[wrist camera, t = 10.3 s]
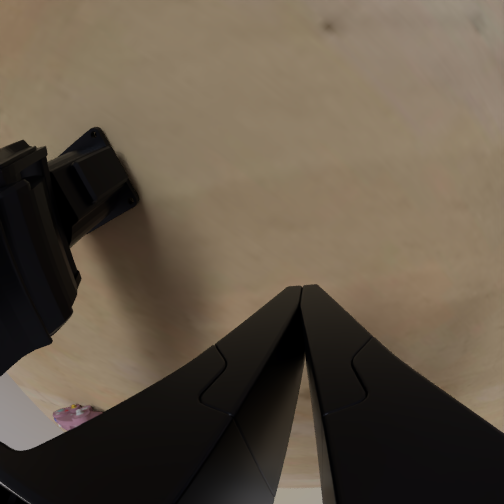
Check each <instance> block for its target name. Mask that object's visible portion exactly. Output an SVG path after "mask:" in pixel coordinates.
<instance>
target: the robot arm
mask: <svg viewBox="0 0 504 504" xmlns="http://www.w3.org/2000/svg"><path fill="white" fill-rule="evenodd" d="M94 132H96V137H95V136H94ZM47 155H48V154H47V148H46V146H44V147H40V148H36V146H34V147H31V146H29V145H28V144H27V143H26V142H25V141H24V140H21V141H18V142H15V143H13V144H10V145H8V146H5V147H3V148H1V149H0V376H2V375H3V374H4V373H5V372H6V371H7V370H8V369H9V368H10V367H12V366H13V365H14V364H15V363H16V362H17V361H18V360H20V359H21V358H22V357H24V356H25V355H27V354H29V353H30V352H32V351H34V350H36V349H39V348H41V347H44V346H47V345H50V344H51V343H52V342H53V340H52V338H51V336H52V335H54V334H55V333H56V332H57V331H58V330H59V329H60V328H61V327H62V326H63V325H64V324H65V323H66V322H67V320H68V319H69V318H70V317H71V315H72V313H73V309H72V305H73V303H74V301H75V298H76V296H77V289H78V286H79V284H80V281H81V275H80V272H79V271H78V270H77V268H76V265H75V262H74V260H73V257H72V254H71V250H70V248H71V247H72V246H73V245H74V244H75V243H76V242H78V241H79V240H80V239H81V238H82V237H83V236H84V235H86V234H88V233H90V232H91V231H93V230H95V229H96V228H98V227H100V226H102V225H103V224H105V223H107V222H108V221H110V220H112V219H114V218H115V217H117V216H119V215H121V214H122V213H124V212H126V211H128V210H129V209H131V208H133V207H135V206H136V205H137V204H138V203H139V197H138V195H137V193H136V191H135V190H134V188H133V186H132V184H131V183H130V181H129V179H128V176H127V174H126V172H125V171H124V169H123V167H122V165H121V164H120V162H119V160H118V158H117V156H116V155H115V153H114V151H113V149H112V148H111V147H110V145H109V143H108V141H107V140H106V138H105V136H104V134H103V132H102V130H101V129H100V128H99V127H94V128H91V129H90V130H89V131H87V132H86V133H85V134H84V135H82V136H81V137H80V138H79V139H78V140H77V141H75V142H74V143H73V144H72V145H71V146H70V147H68V148H67V149H66V150H65V151H64V152H63V153H62V154H61V155H60V156H58V157H57V158H55V159H53V160H51V161H48V162H47V158H46V156H47ZM130 198H132V199H133V200H134V202H132V201H131V200H130ZM305 357H306V366H307V373H308V380H309V388H310V395H311V403H312V411H313V419H314V427H315V435H316V444H317V452H318V461H319V470H320V480H321V490H322V498H323V499H322V500H323V504H504V433H503V432H501V431H500V430H498V429H497V428H496V427H494V426H493V425H491V424H490V423H488V422H487V421H486V420H484V419H483V418H481V417H480V416H479V415H477V414H476V413H474V412H473V411H471V410H470V409H469V408H467V407H466V406H464V405H463V404H462V403H460V402H459V401H457V400H456V399H455V398H453V397H452V396H450V395H449V394H447V393H446V392H445V391H443V390H442V389H440V388H439V387H438V386H436V385H435V384H433V383H432V382H430V381H429V380H428V379H426V378H425V377H423V376H422V375H421V374H419V373H418V372H416V371H415V370H414V369H412V368H411V367H409V366H408V365H407V364H406V363H404V362H403V361H402V360H400V359H399V358H398V357H396V356H395V355H394V354H393V353H392V352H390V351H389V350H388V349H387V348H386V347H385V346H384V345H382V344H381V343H380V342H379V341H378V340H377V339H376V338H375V337H373V336H372V335H371V334H370V333H369V332H368V331H367V330H366V329H365V328H364V327H363V326H362V325H360V324H359V323H358V322H357V321H356V320H355V319H354V318H353V317H352V316H351V315H350V314H349V313H348V312H347V311H346V310H344V309H343V308H342V307H341V306H340V305H339V304H338V303H337V302H336V301H335V300H334V299H333V298H332V297H330V296H329V295H328V294H327V293H326V292H325V291H324V290H323V289H322V288H321V287H320V286H319V285H317V284H314V285H304V286H303V288H302V286H289V287H286V288H285V289H284V290H283V291H282V292H280V293H279V294H278V295H277V296H275V297H274V298H273V299H272V300H270V301H269V302H268V303H267V304H265V305H264V306H263V307H262V308H260V309H259V310H258V311H257V312H255V313H254V314H253V315H252V316H250V317H249V318H248V319H247V320H245V321H244V322H243V323H242V324H240V325H239V326H238V327H236V328H235V329H234V330H233V331H231V332H230V333H229V334H227V335H226V336H225V337H224V338H222V339H221V340H220V341H218V342H217V343H216V344H215V346H214V345H212V346H211V347H210V348H208V349H207V350H206V351H204V352H203V353H202V354H200V355H199V356H197V357H196V358H195V359H193V360H192V361H190V362H189V363H187V364H186V365H184V366H183V367H181V368H180V369H178V370H176V371H175V372H173V373H172V374H170V375H168V376H167V377H165V378H163V379H162V380H160V381H158V382H157V383H155V384H153V385H151V386H150V387H148V388H146V389H144V390H143V391H141V392H139V393H137V394H136V395H134V396H132V397H130V398H129V399H127V400H125V401H123V402H121V403H120V404H118V405H116V406H114V407H112V408H111V409H109V410H107V411H105V412H103V413H101V414H99V415H98V416H96V417H94V418H92V419H90V420H88V421H86V422H84V423H82V424H81V425H79V426H77V427H75V428H73V429H71V430H69V431H67V432H65V433H63V434H61V435H59V436H57V437H55V438H53V439H52V440H49V441H47V442H45V443H43V444H41V445H39V446H37V447H34V448H32V449H29V450H24V451H17V450H14V449H12V448H10V447H8V446H7V445H5V444H4V443H2V442H0V482H2V483H3V484H4V485H6V486H7V487H8V488H10V489H11V490H12V491H14V492H15V493H16V494H18V495H19V496H20V497H19V496H18V495H16V494H15V493H13V492H12V491H10V490H9V489H8V488H6V487H5V486H3V485H2V484H0V504H30V503H31V504H273V503H274V497H275V495H276V491H277V487H278V484H279V480H280V476H281V472H282V467H283V463H284V459H285V455H286V451H287V446H288V442H289V437H290V433H291V428H292V424H293V419H294V414H295V409H296V404H297V399H298V394H299V389H300V384H301V378H302V373H303V367H304V361H305ZM21 497H22V498H23V499H22V498H21ZM24 499H25V500H26V501H25V500H24ZM27 501H28V502H29V503H28V502H27Z"/></svg>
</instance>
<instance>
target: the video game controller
mask: <svg viewBox="0 0 504 504" xmlns="http://www.w3.org/2000/svg"><path fill="white" fill-rule="evenodd" d="M101 413H103V412H95V411H93V410H92V408H91V406H84V407H82V408H81V407H80V405H72V406H71V407H67V408H62V409H59V410H57V411H55V412H54V413H53V417H54V419H55V421H56V423H58V424H59V427H62V428H64V429H65V430H67V431H69V430H71V429H73V428H75V427H77V426H79V425H81V424H82V423H84V422H86V421H88V420H90V419H92V418H94V417H96V416H98V415H99V414H101Z"/></svg>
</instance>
